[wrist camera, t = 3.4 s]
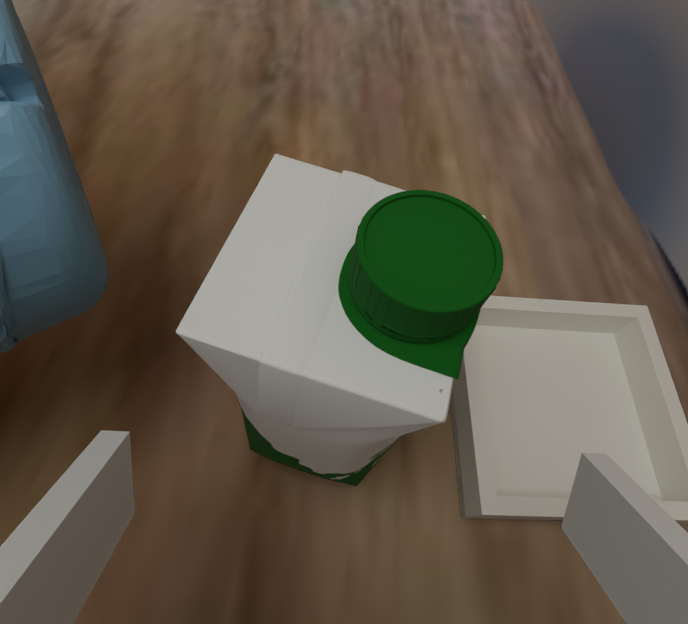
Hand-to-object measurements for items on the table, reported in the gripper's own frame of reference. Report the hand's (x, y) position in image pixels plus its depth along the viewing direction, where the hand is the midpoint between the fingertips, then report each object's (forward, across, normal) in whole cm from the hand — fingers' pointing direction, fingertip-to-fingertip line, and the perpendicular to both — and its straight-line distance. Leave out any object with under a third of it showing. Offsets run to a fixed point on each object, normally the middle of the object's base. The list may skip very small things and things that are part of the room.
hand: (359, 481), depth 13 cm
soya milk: (+15, -1, -7) cm, 17 cm away
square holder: (+16, +15, -6) cm, 23 cm away
